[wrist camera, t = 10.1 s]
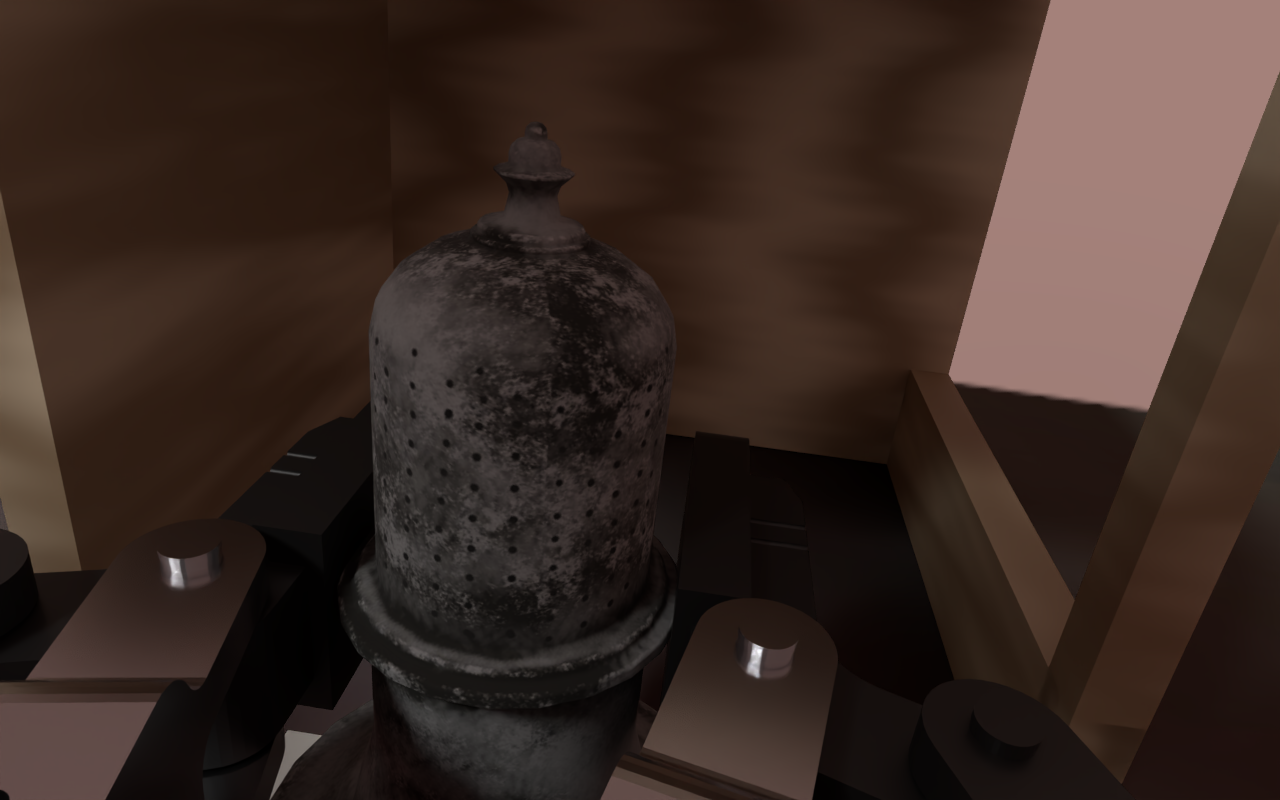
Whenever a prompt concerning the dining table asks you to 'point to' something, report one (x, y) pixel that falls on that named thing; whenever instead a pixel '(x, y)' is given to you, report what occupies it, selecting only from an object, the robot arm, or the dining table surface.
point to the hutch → (623, 218)
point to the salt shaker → (507, 513)
